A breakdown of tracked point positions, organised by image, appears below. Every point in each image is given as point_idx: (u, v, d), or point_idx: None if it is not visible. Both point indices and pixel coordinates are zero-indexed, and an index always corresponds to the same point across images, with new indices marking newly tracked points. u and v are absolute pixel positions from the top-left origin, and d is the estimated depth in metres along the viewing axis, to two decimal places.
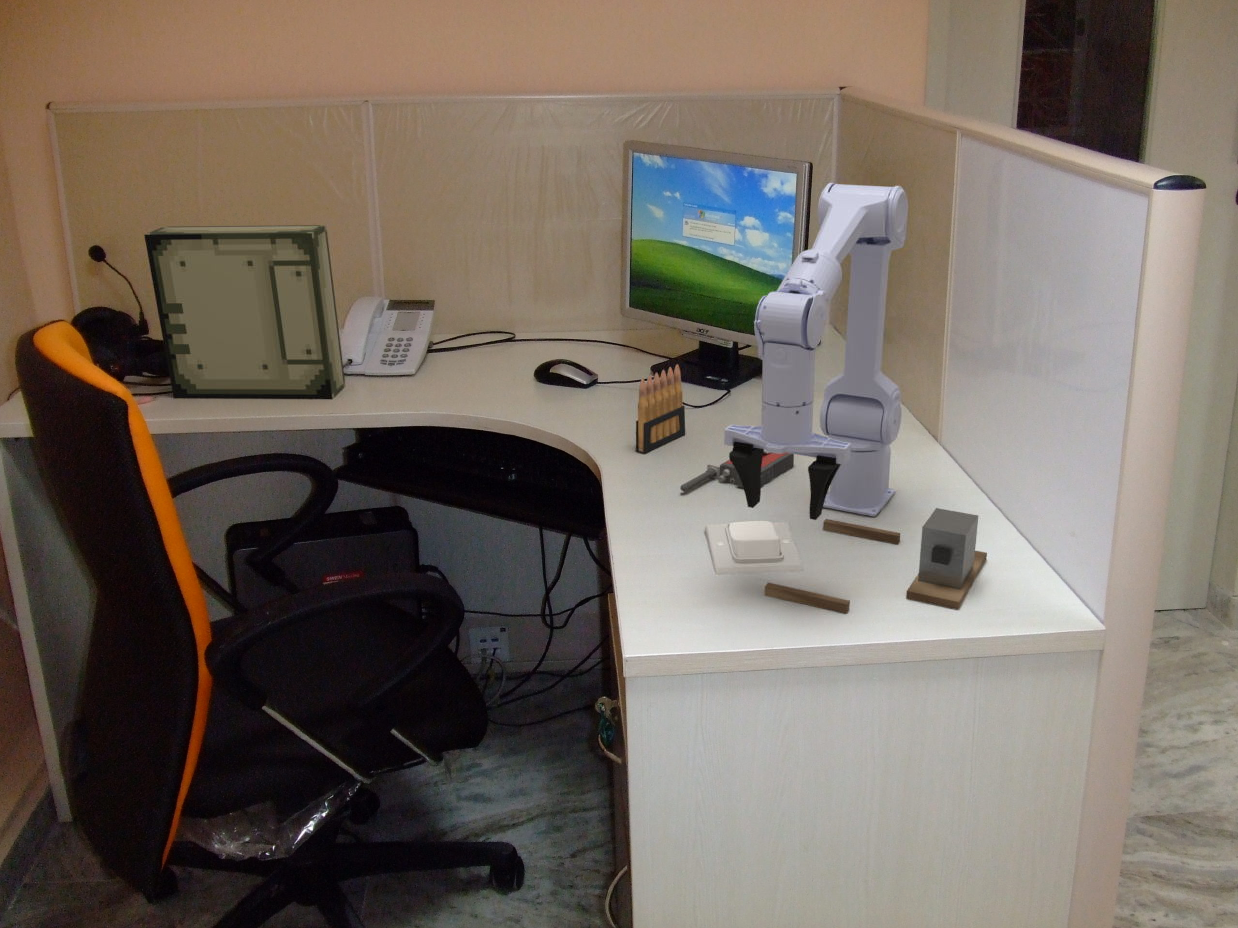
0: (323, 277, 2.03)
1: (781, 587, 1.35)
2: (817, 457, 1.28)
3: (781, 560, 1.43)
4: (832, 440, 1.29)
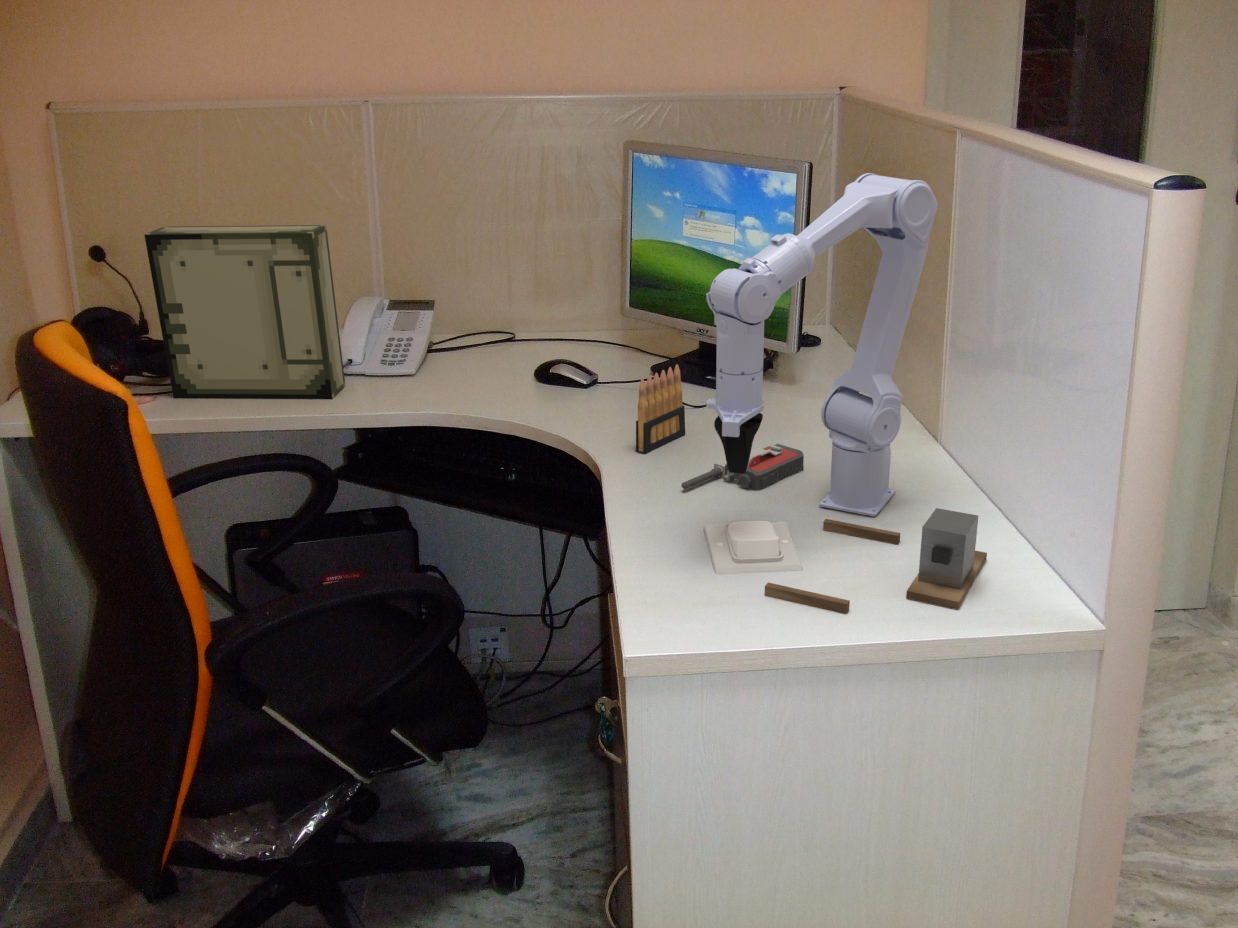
0: (323, 277, 2.03)
1: (781, 587, 1.35)
2: None
3: (780, 560, 1.43)
4: (743, 417, 1.38)
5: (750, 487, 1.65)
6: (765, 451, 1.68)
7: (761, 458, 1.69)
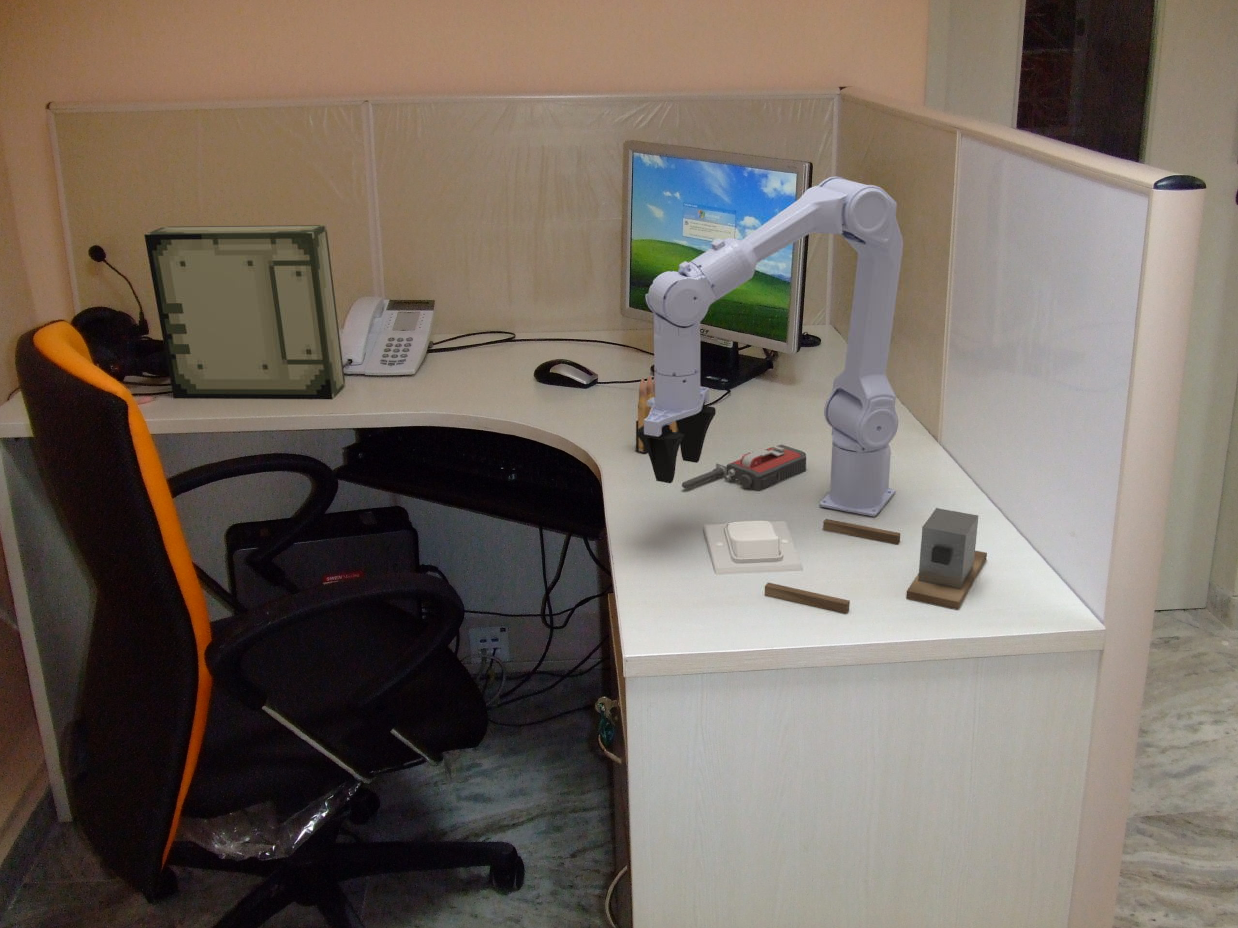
0: (323, 277, 2.03)
1: (781, 587, 1.35)
2: None
3: (780, 559, 1.43)
4: None
5: (751, 488, 1.65)
6: (767, 452, 1.68)
7: (763, 459, 1.69)
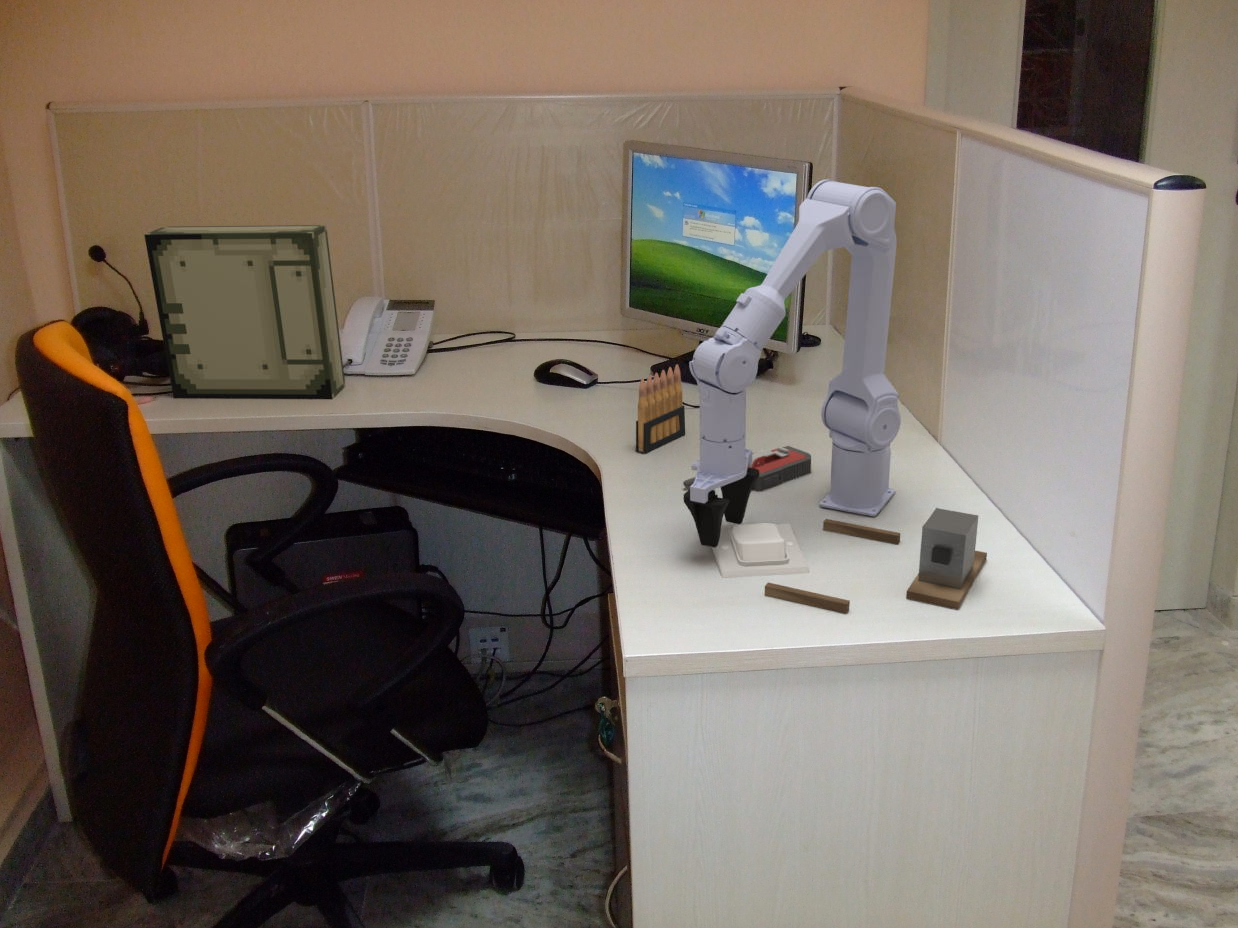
0: (323, 277, 2.03)
1: (781, 587, 1.35)
2: None
3: (786, 562, 1.42)
4: (714, 483, 1.41)
5: (752, 488, 1.65)
6: (770, 452, 1.67)
7: (767, 459, 1.68)
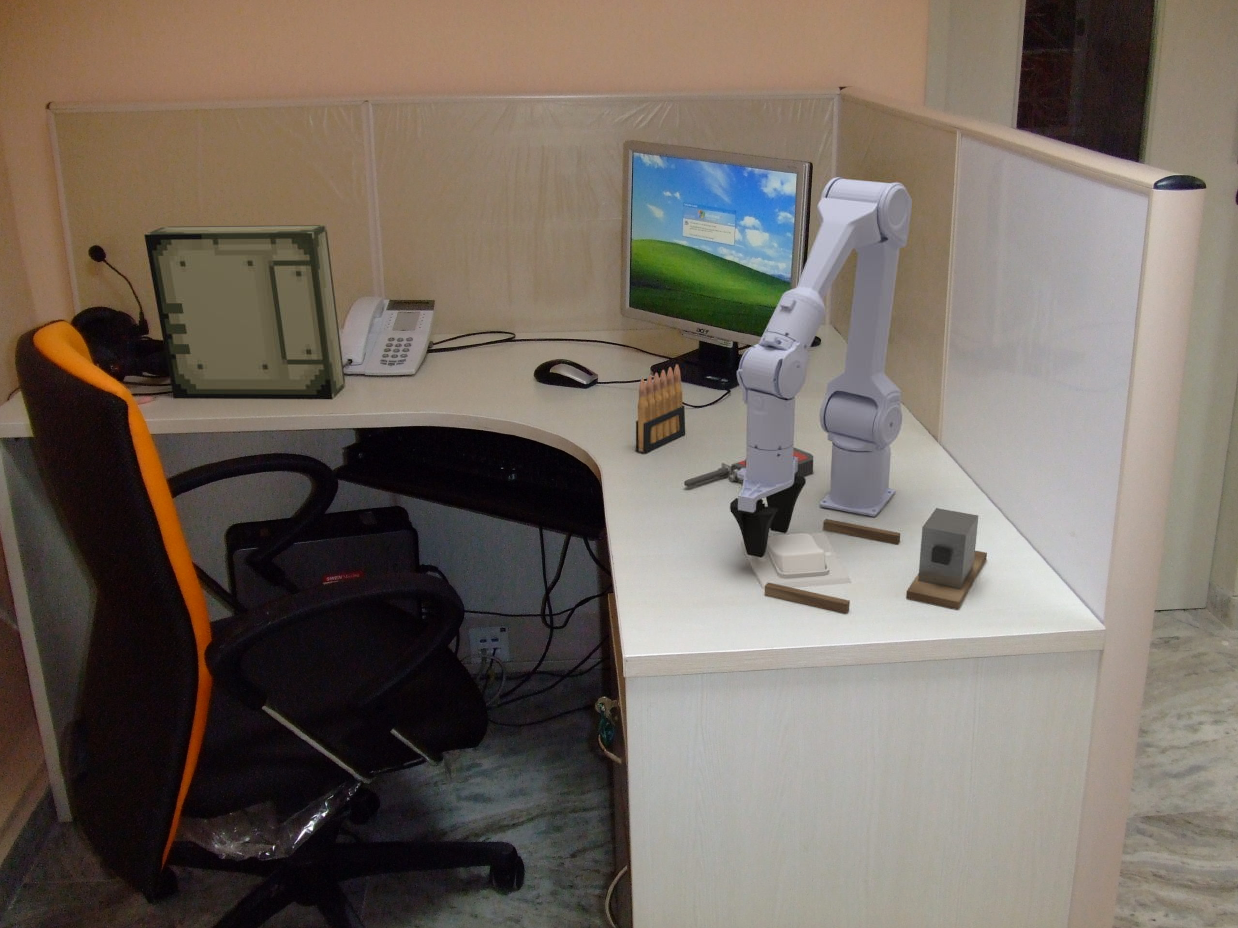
0: (323, 277, 2.03)
1: (781, 587, 1.35)
2: None
3: (827, 573, 1.39)
4: None
5: None
6: None
7: None
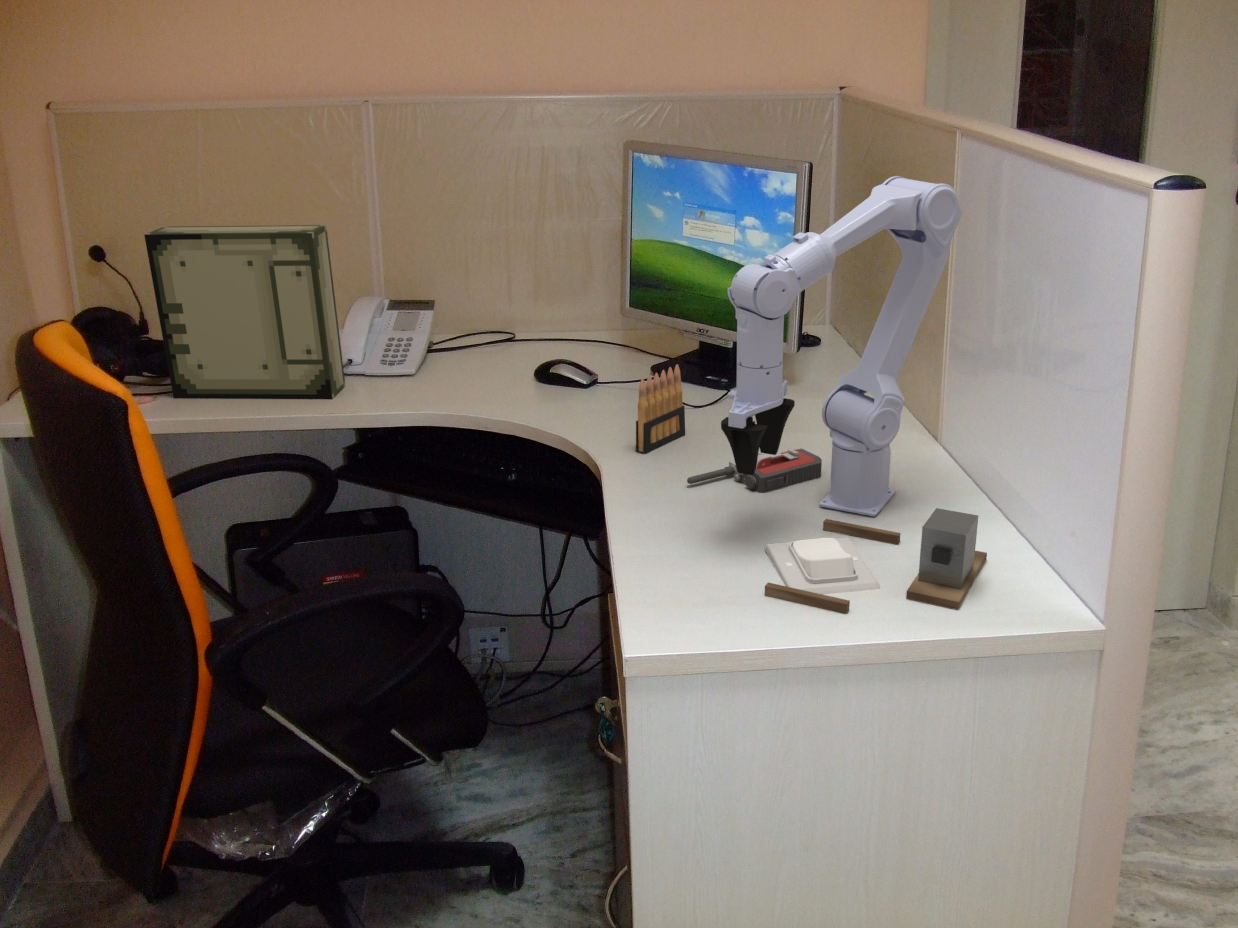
0: (323, 277, 2.03)
1: (781, 587, 1.35)
2: None
3: (856, 578, 1.38)
4: None
5: (755, 488, 1.65)
6: (778, 454, 1.66)
7: (775, 461, 1.67)
